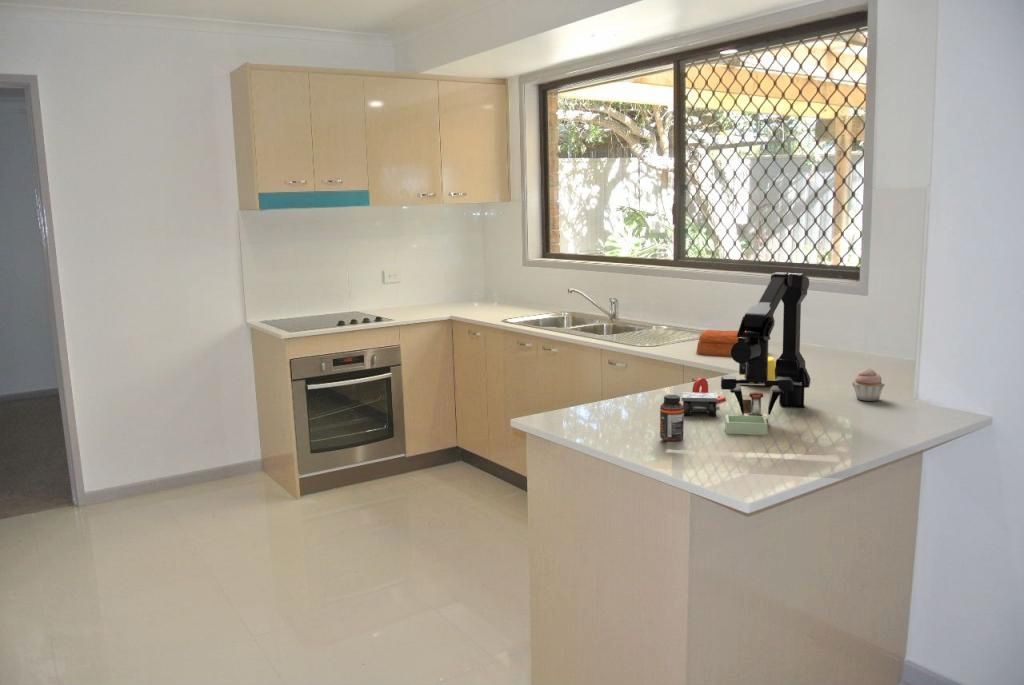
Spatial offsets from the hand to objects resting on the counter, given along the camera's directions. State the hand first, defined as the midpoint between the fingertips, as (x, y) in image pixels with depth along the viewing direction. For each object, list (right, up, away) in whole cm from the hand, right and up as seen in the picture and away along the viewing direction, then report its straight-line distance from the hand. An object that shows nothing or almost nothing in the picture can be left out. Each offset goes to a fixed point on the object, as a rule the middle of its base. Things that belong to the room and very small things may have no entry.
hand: (755, 414), depth 222 cm
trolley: (-13, -1, +12) cm, 18 cm away
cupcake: (+42, +2, +25) cm, 49 cm away
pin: (0, -3, 0) cm, 2 cm away
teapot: (+16, +5, +48) cm, 51 cm away
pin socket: (0, -3, 0) cm, 2 cm away
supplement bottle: (-26, -5, -13) cm, 29 cm away
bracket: (-6, +1, +25) cm, 26 cm away
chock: (+1, -1, +10) cm, 10 cm away
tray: (-5, -4, -7) cm, 9 cm away
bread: (+21, +13, +102) cm, 105 cm away
